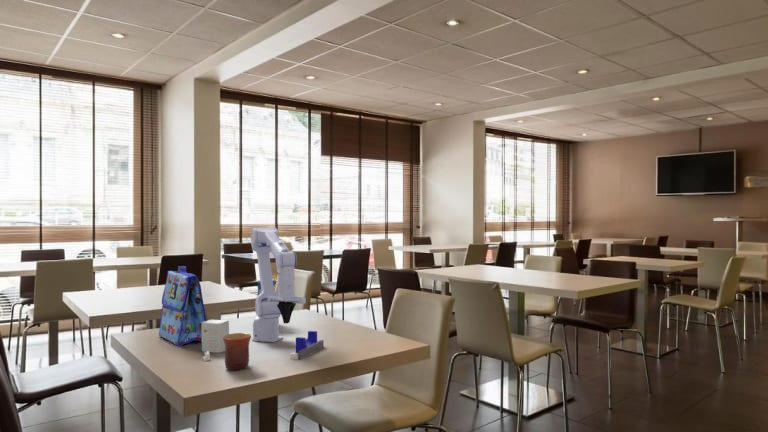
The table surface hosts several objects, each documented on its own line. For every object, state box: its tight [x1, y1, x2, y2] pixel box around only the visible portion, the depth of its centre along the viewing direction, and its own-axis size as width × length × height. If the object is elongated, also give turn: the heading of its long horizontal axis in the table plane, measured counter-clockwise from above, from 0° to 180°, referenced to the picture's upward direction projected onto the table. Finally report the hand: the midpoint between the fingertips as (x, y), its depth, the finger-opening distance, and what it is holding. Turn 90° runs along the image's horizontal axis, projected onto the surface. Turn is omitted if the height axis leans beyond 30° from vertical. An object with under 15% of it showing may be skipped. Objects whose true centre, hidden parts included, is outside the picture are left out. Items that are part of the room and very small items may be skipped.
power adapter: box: [202, 351, 211, 362], centre depth 175 cm, size 3×3×3 cm
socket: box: [289, 339, 325, 361], centre depth 184 cm, size 4×19×2 cm, turn 161°
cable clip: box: [295, 330, 318, 353], centre depth 186 cm, size 12×4×6 cm, turn 164°
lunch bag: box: [158, 265, 208, 347], centre depth 205 cm, size 22×14×29 cm, turn 41°
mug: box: [223, 332, 252, 372], centre depth 166 cm, size 12×9×10 cm
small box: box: [201, 319, 230, 354], centre depth 187 cm, size 8×6×10 cm
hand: (286, 322), depth 186 cm, fingers closed
